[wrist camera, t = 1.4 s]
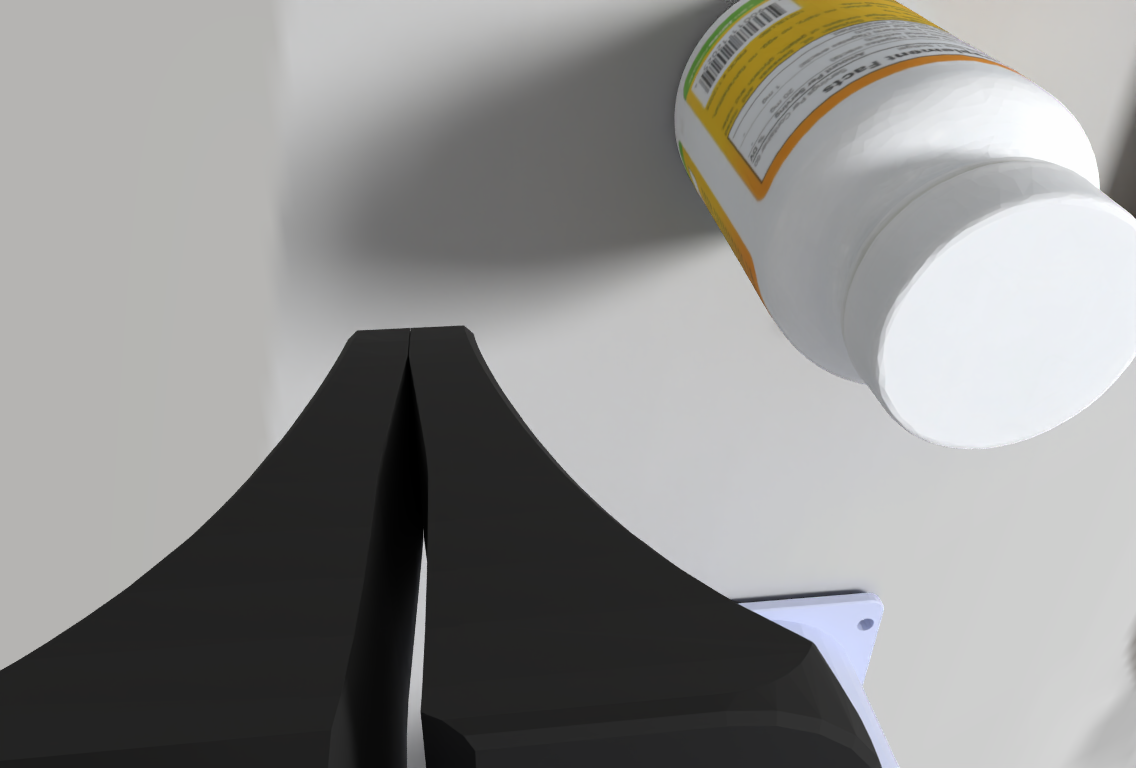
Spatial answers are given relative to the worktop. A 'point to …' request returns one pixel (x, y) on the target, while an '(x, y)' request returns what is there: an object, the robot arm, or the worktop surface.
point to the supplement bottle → (912, 215)
